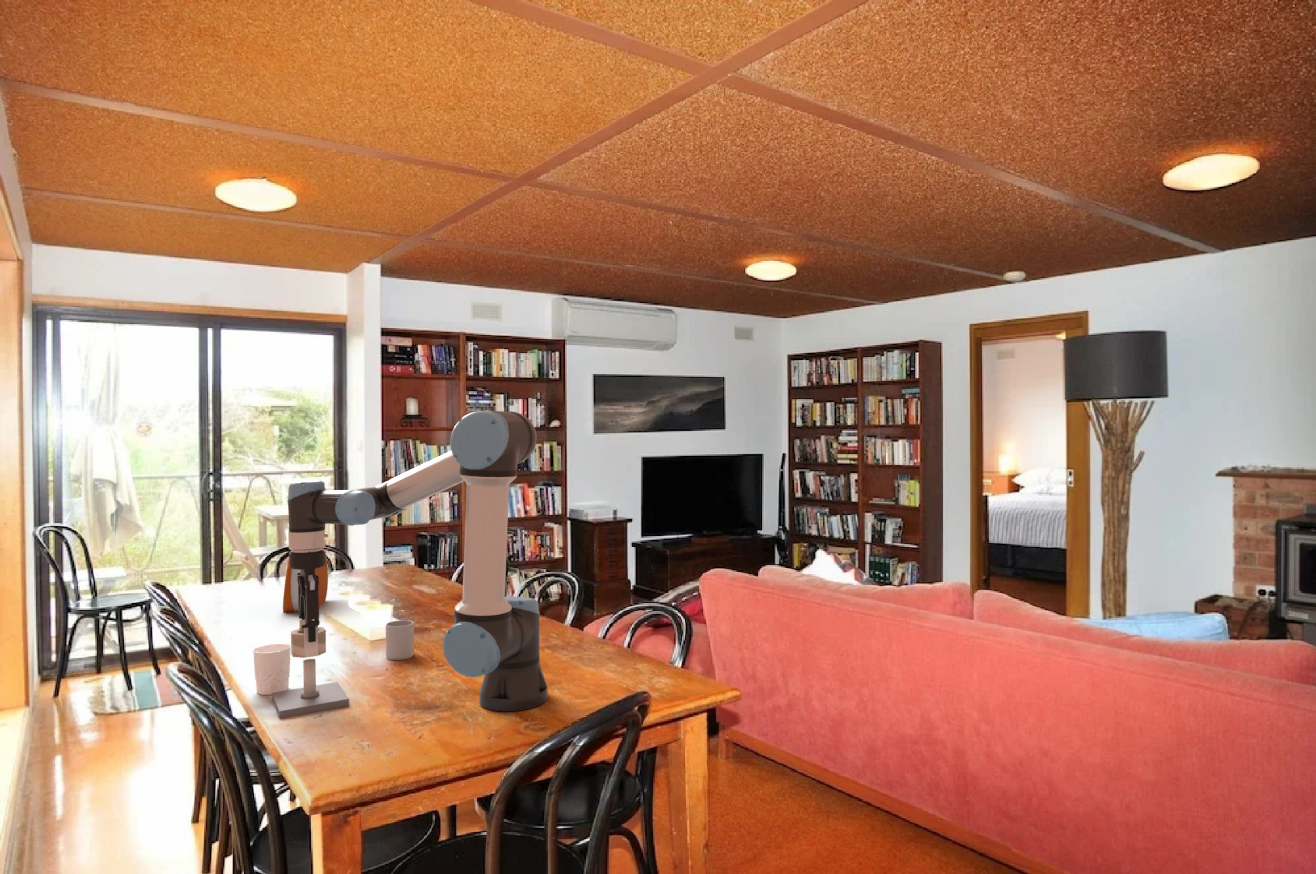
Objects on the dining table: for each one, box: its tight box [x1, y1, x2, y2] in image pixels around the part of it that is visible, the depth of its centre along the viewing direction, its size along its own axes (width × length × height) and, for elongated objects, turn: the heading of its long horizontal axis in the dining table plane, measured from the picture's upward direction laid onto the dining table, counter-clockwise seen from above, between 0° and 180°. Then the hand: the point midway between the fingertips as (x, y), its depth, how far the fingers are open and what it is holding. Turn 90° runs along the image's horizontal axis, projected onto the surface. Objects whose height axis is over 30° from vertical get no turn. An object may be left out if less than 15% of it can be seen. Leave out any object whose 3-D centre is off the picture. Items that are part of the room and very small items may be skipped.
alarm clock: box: [282, 547, 329, 613], centre depth 276 cm, size 22×10×23 cm, turn 6°
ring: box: [290, 626, 327, 659], centre depth 178 cm, size 7×7×5 cm
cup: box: [385, 619, 415, 661], centre depth 215 cm, size 7×10×9 cm
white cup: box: [252, 643, 291, 696], centre depth 187 cm, size 8×8×10 cm
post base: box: [271, 658, 350, 719], centre depth 179 cm, size 14×14×10 cm
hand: (308, 651), depth 179 cm, fingers closed on ring, 7 cm apart
